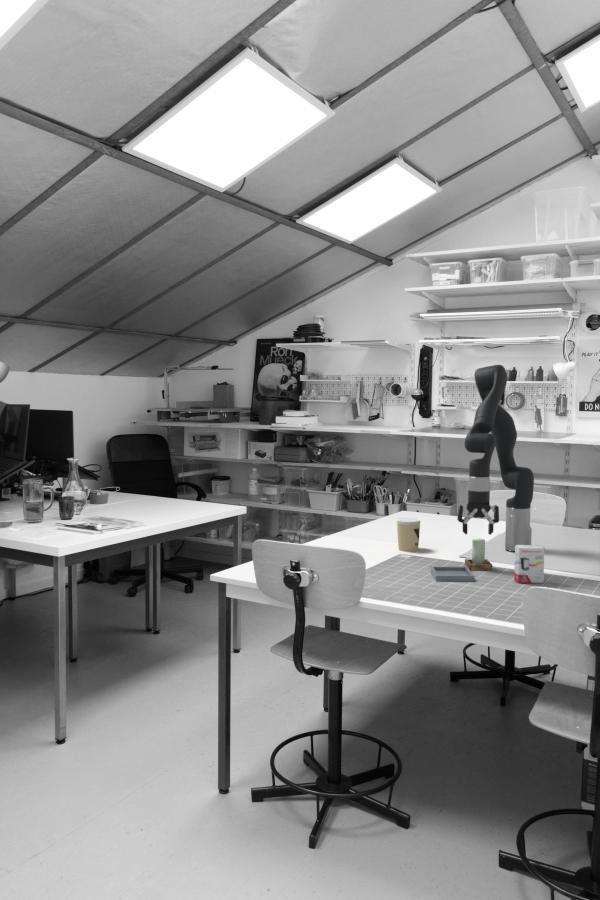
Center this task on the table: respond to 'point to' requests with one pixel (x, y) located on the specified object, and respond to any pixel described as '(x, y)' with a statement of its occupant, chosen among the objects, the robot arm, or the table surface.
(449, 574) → the tray
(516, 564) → the ink box
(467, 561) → the socket
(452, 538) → the table surface
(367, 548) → the table surface
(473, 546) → the peg
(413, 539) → the coffee cup
